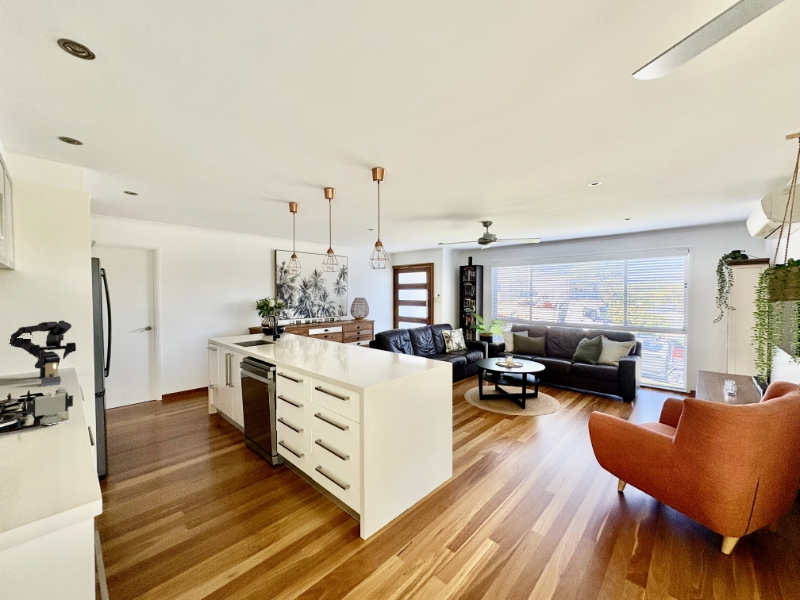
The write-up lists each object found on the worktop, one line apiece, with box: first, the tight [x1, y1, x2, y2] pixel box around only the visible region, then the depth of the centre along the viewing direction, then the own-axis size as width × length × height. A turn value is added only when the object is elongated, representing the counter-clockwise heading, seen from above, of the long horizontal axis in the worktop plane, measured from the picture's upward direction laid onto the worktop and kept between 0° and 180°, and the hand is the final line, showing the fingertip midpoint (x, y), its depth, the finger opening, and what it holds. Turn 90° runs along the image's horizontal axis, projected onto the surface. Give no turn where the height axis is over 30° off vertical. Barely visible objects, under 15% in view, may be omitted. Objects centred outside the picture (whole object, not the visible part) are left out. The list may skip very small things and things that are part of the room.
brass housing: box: [45, 362, 59, 378], centre depth 180 cm, size 5×5×10 cm
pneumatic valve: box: [26, 392, 74, 426], centre depth 122 cm, size 6×12×12 cm, turn 136°
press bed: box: [40, 375, 62, 387], centre depth 179 cm, size 9×7×4 cm
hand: (52, 359), depth 184 cm, fingers open, 9 cm apart
